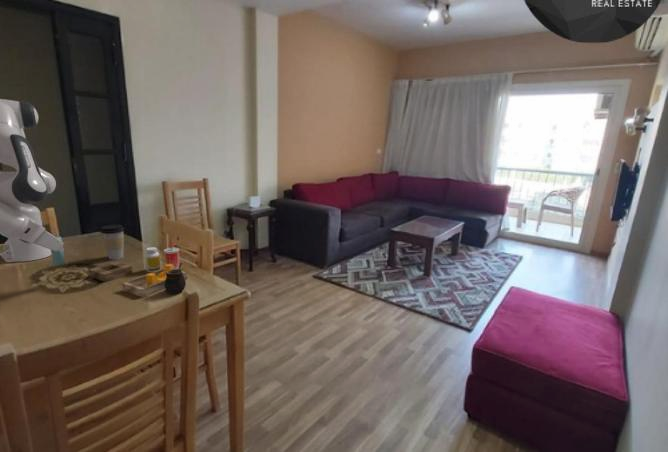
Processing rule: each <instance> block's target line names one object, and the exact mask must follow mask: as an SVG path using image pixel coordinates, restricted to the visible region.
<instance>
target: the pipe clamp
mask: <svg viewBox="0 0 668 452" xmlns="http://www.w3.org/2000/svg"><path fill="white" fill-rule="evenodd" d="M163 268H164V271H163V272H161V273H160V274H158V276H157V277H156V274H153V273H152V272H148V273H146V274H147V275H146V274H145V275H146V280H147V283H146V287H147V286H149V285H152V284H154V283H157V282H159V281H162V280H165V279H166V277H167V276H166V272H167V271H169V270H172V269H174V268H173V265H172V264H166V263H165V265H164V267H163Z"/></svg>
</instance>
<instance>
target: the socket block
mask: <svg viewBox="0 0 668 452" xmlns="http://www.w3.org/2000/svg"><path fill="white" fill-rule="evenodd" d="M88 274H89V275H88V276H89V277H91V278H93V279H96V280H99V281H102V282H105V283H107V282H110V281H113V280H116V279H119V278H121V277H125V276H128V275H130V274H133V267H132V265H129V264H126V263H122V262H119V261H112V262H108V263H105V264H102V265H98V266H95V267H92V268H88Z"/></svg>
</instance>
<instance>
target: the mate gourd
mask: <svg viewBox="0 0 668 452" xmlns="http://www.w3.org/2000/svg"><path fill="white" fill-rule="evenodd" d="M182 265H183V263H181V262H179V268H178V269H172V270H169V271H167V272H166V276H167V277H166V280H165V284H164V286H165V291H166V292H167V293H169V294H174V295H175V294H179V293H181V292H183V291H184V290H185V288H186V284H187V283H186V280H185V279H184V277H183V275H182V271H183V270H182V269H181V267H182Z"/></svg>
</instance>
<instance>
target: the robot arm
mask: <svg viewBox="0 0 668 452" xmlns="http://www.w3.org/2000/svg"><path fill="white" fill-rule="evenodd" d="M38 123H39V113H38V111H37V109H36V108H35V106H34V105H33V104H32V103H30V102H26V101H24V100H23V101H22V100H20V101H17V100H11V99H3V98H0V164H3V165H5V166H9V167H11V168H14V169H15V170H16V171H0V235H1V236H3V237H5V238H7V240H6V241H5V242H4V245H3V244H2V245H1V250H2V252H0V257H1V258H2V259H3V261H4V262H5V263H14V262H15V263H16V262H17V263H18V262H31V261H37V260H41V259H45V258H47V257H50V256H52V254H51V250H53V251H56V252H57V251H59V252H64V251H65V247H62V246H64V244H65V243H64V242H63V240H62V241H60V240H59V239H58V238H56V237H57V236H55V235H53V234H52V233H50V232H48V231H47V230H46V228H45V226H44V225H43V222H42V220H43V219H42V215H41V211H40V209H39V208H38V207H37V206H35V205H33V204H36V203H39V202H42V201H44V200H45V199H46V198H47V196H48V194H52V193H53V192H54V191H55V189H56V187H57V182H56V179H55V177H54V176H53V175H52V174H51V173H49V172H47V171H45V170H44V169H42V168H41V167H39V165H38V162H37V159H36V157H35V154H34V153H35V152H34V151H33V148H32V146H31V144H30V142H29V141H28V139H27V138H26V134H25V130H26V131H27V130H31V129H34V128H35V127H37V126H38Z"/></svg>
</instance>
